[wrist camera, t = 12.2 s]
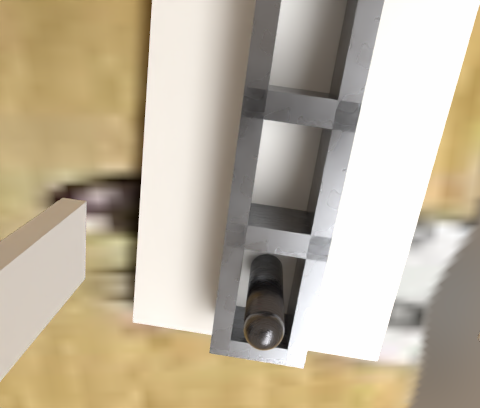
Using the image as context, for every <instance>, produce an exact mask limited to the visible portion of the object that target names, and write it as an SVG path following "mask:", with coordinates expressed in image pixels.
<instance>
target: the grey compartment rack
mask: <svg viewBox="0 0 480 408" xmlns="http://www.w3.org/2000/svg"><path fill="white" fill-rule="evenodd" d="M281 1H282V0H256V4H255V11H254V19H253V26H252V34H251V41H250V49H249V57H248V64H247V72H246V79H245V87H244V95H243V102H242V110H241V117H240V125H239V133H238V140H237V148H236V155H235V163H234V171H233V178H232V186H231V193H230V201H229V208H228V216H227V224H226V231H225V239H224V246H223V254H222V262H221V269H220V277H219V284H218V292H217V300H216V307H215V315H214V322H213V330H212V338H211V345H210V353H212V354H218V355H224V356H230V357H236V358H243V359H249V360H255V361H261V362H267V363H273V364H280V365H286V366H292V367H298V368H304V364H305V359H306V355H307V350H308V346H309V341H310V337H311V332H312V327H313V323H314V318H315V314H316V309H317V305H318V300H319V296H320V291H321V287H322V282H323V277H324V273H325V268H326V264H327V259H328V255H329V250H330V246H331V241H332V237H333V232H334V227H335V223H336V218H337V214H338V209H339V205H340V200H341V196H342V191H343V187H344V182H345V177H346V173H347V168H348V164H349V159H350V155H351V150H352V146H353V141H354V136H355V132H356V127H357V123H358V118H359V114H360V109H361V105H362V100H363V96H364V91H365V86H366V82H367V77H368V73H369V68H370V64H371V59H372V55H373V50H374V46H375V41H376V36H377V32H378V27H379V23H380V18H381V14H382V9H383V5H384V0H347V5H346V10H345V15H344V20H343V25H342V30H341V36H340V41H339V46H338V51H337V56H336V61H335V66H334V71H333V77H332V82H331V87H330V92H329V93H323V92H316V91H309V90H302V89H295V88H288V87H281V86H274V85H269V82H270V75H271V68H272V62H273V55H274V48H275V42H276V35H277V28H278V22H279V15H280V8H281ZM264 120H271V121H277V122H284V123H291V124H298V125H305V126H312V127H319V128H322V133H321V138H320V143H319V149H318V154H317V159H316V164H315V169H314V174H313V179H312V185H311V190H310V195H309V200H308V205H307V210H306V211H303V210H296V209H289V208H283V207H276V206H269V205H263V204H256V203H251V202H252V196H253V189H254V182H255V175H256V169H257V162H258V155H259V149H260V142H261V135H262V129H263V122H264ZM244 249H245V250H252V251H258V252H265V253H271V254H278V255H284V256H291V257H297V262H296V267H295V272H294V277H293V282H292V287H291V293H290V298H289V303H288V308H287V313H286V314H285V313H284V336H283V339H282V340H281V342H280V343H279V344H278V345H277V346H276V347H275V348H273V349H270V350H266V351H262V350H258V349H255V348H253V347H252V346H251V345H250V344H249V343H248V342H247V341H246V339H245V336H244V332H243V325H244V317H245V308H246V307H241V306H236V303H237V296H238V289H239V283H240V276H241V269H242V262H243V256H244Z"/></svg>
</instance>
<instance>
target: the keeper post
mask: <svg viewBox="0 0 480 408" xmlns="http://www.w3.org/2000/svg"><path fill="white" fill-rule="evenodd" d="M243 332H244V336H245V339H246V341H247V342H248V343H249V344H250V345H251V346H252V347H253V348H255V349H258V350H262V351H266V350H270V349H273V348H275V347H276V346H277V345H278V344H279V343H280V342H281V340H282V339H283V336H284V297H283V267H282V263H281V261H280V260H279V259H278V258H277V257H275V256H273V255H270V254H262V255H259V256H257V257H256V258H255V259H254V260H253V261H252V263H251V267H250V275H249V283H248V292H247V300H246V308H245V317H244V325H243Z"/></svg>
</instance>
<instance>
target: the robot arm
mask: <svg viewBox="0 0 480 408" xmlns="http://www.w3.org/2000/svg"><path fill="white" fill-rule="evenodd" d="M86 204H87V201H80V200H74V199H67V198H62V199H60V200H59V201H57V202H56V203H55V204H53V205H52V206H50V207H49V208H47V209H46V210H44V211H43V212H42V213H40V214H39V215H37V216H36V217H34V218H33V219H32V220H30V221H29V222H27V223H26V224H24V225H23V226H21V227H20V228H19V229H17V230H16V231H14V232H13V233H11V234H10V235H8V236H7V237H6V238H4V239H3V240H1V241H0V381H1V380H2V379H3V378H4V376H5V375H6V374H7V373H8V372H9V370H10V369H11V368H12V367H13V365H14V364H15V363H16V362H17V361H18V359H19V358H20V357H21V356H22V355H23V353H24V352H25V351H26V350H27V349H28V347H29V346H30V345H31V344H32V342H33V341H34V340H35V339H36V338H37V336H38V335H39V334H40V333H41V332H42V330H43V329H44V328H45V327H46V325H47V324H48V323H49V322H50V321H51V319H52V318H53V317H54V316H55V315H56V313H57V312H58V311H59V310H60V308H61V307H62V306H63V305H64V304H65V302H66V301H67V300H68V299H69V298H70V296H71V295H72V294H73V293H74V292H75V290H76V289H77V288H78V287H79V285H80V284H81V283H82V282H83V281H84V279H85V259H86ZM477 339H478V340H479V341H480V332H479V335H478V337H477Z"/></svg>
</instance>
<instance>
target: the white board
mask: <svg viewBox="0 0 480 408" xmlns="http://www.w3.org/2000/svg"><path fill="white" fill-rule="evenodd" d="M255 4H256V0H152V11H151V28H150V44H149V61H148V77H147V94H146V111H145V127H144V144H143V160H142V177H141V193H140V210H139V227H138V243H137V260H136V276H135V293H134V310H133V322H134V323H140V324H147V325H153V326H159V327H165V328H172V329H178V330H184V331H190V332H197V333H203V334H209V335H212V330H213V322H214V315H215V307H216V300H217V292H218V284H219V277H220V269H221V262H222V254H223V246H224V239H225V231H226V224H227V216H228V208H229V201H230V193H231V186H232V178H233V171H234V163H235V155H236V148H237V140H238V133H239V125H240V117H241V110H242V102H243V95H244V87H245V79H246V72H247V64H248V57H249V49H250V41H251V34H252V26H253V19H254V11H255ZM479 4H480V0H384V5H383V9H382V14H381V18H380V23H379V27H378V32H377V36H376V41H375V46H374V50H373V55H372V59H371V64H370V68H369V73H368V77H367V82H366V86H365V91H364V96H363V100H362V105H361V109H360V114H359V118H358V123H357V127H356V132H355V136H354V141H353V146H352V150H351V155H350V159H349V164H348V168H347V173H346V177H345V182H344V187H343V191H342V196H341V200H340V205H339V209H338V214H337V218H336V223H335V227H334V232H333V237H332V241H331V246H330V250H329V255H328V259H327V264H326V268H325V273H324V277H323V282H322V287H321V291H320V296H319V300H318V305H317V309H316V314H315V318H314V323H313V327H312V332H311V337H310V341H309V346H308V350H309V351H315V352H321V353H328V354H334V355H340V356H346V357H353V358H359V359H365V360H371V361H378V357H379V354H380V350H381V347H382V343H383V340H384V336H385V333H386V329H387V326H388V322H389V319H390V315H391V312H392V308H393V305H394V301H395V298H396V294H397V291H398V287H399V284H400V280H401V277H402V273H403V270H404V266H405V263H406V259H407V256H408V252H409V249H410V245H411V242H412V238H413V235H414V231H415V228H416V224H417V221H418V217H419V214H420V210H421V207H422V203H423V200H424V196H425V193H426V189H427V186H428V182H429V179H430V175H431V172H432V168H433V165H434V161H435V158H436V154H437V151H438V147H439V144H440V140H441V137H442V133H443V130H444V126H445V123H446V119H447V116H448V112H449V109H450V105H451V102H452V98H453V95H454V91H455V88H456V84H457V81H458V77H459V74H460V70H461V67H462V63H463V60H464V56H465V53H466V49H467V46H468V42H469V39H470V35H471V32H472V28H473V25H474V21H475V18H476V14H477V11H478V7H479ZM346 5H347V0H282V1H281V8H280V15H279V22H278V28H277V35H276V42H275V48H274V55H273V62H272V68H271V75H270V82H269V85H274V86H281V87H288V88H295V89H302V90H309V91H316V92H323V93H329V92H330V87H331V82H332V77H333V71H334V66H335V61H336V56H337V51H338V46H339V41H340V36H341V30H342V25H343V20H344V15H345V10H346ZM321 133H322V128H319V127H312V126H305V125H298V124H291V123H284V122H277V121H271V120H264V122H263V129H262V135H261V142H260V149H259V155H258V162H257V169H256V175H255V182H254V189H253V196H252V202H251V203H256V204H263V205H269V206H276V207H283V208H289V209H296V210H303V211H306V210H307V205H308V200H309V195H310V190H311V185H312V179H313V174H314V169H315V164H316V159H317V154H318V149H319V143H320V138H321ZM262 254H270V255H273V256H275V257H277V258H278V259H279V260H280V261H281V263H282V267H283V297H284V313H285V314H286V313H287V308H288V303H289V298H290V293H291V287H292V282H293V277H294V272H295V267H296V262H297V257H291V256H284V255H278V254H271V253H265V252H258V251H252V250H245V249H244V256H243V262H242V269H241V276H240V283H239V289H238V296H237V303H236V306H241V307H246V300H247V292H248V283H249V275H250V267H251V263H252V261H253V260H254V259H255V258H256V257H257V256H259V255H262Z"/></svg>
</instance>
